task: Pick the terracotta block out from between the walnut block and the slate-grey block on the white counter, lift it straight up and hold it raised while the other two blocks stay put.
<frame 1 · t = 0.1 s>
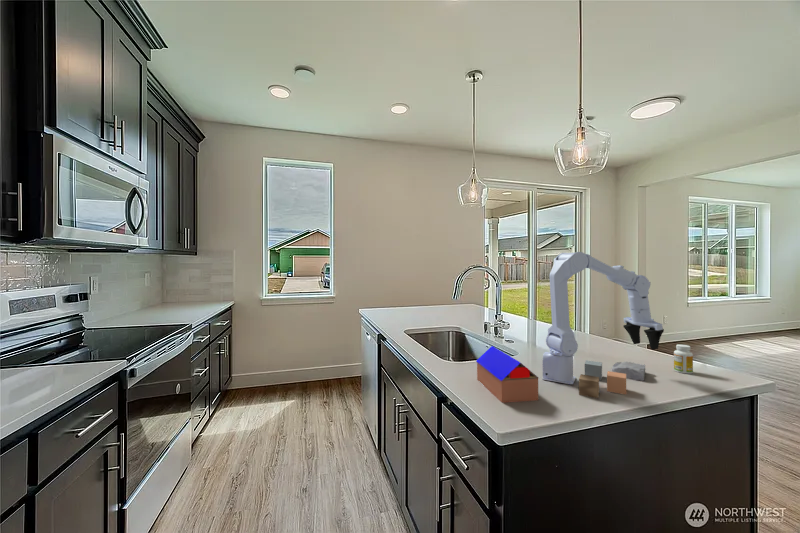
hand: (645, 346, 118), 11 cm above the table, tool pointing down, fingers open, 7 cm apart
terracotta block: (616, 390, 105), on the table
slate block: (593, 377, 117), on the table
stone block: (628, 375, 120), on the table
supplement bottle: (683, 372, 122), on the table
walnut block: (589, 394, 102), on the table
house: (505, 390, 107), on the table
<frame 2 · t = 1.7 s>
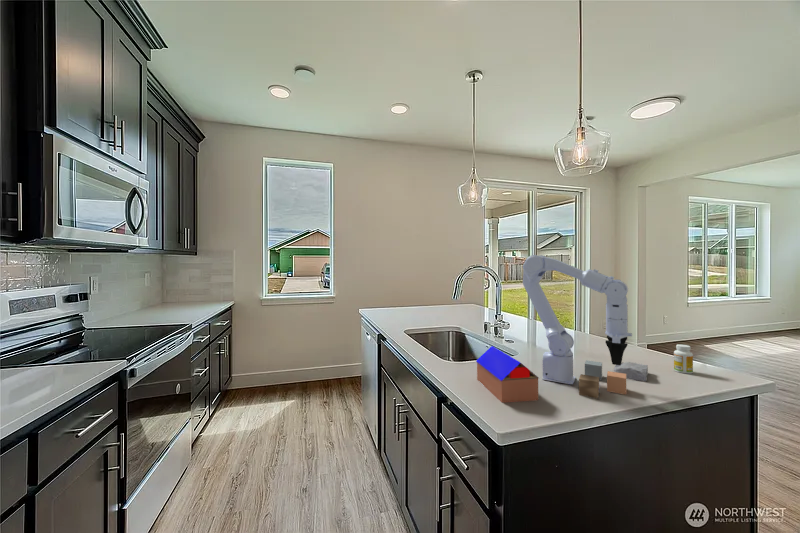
hand: (616, 361, 105), 9 cm above the table, tool pointing down, fingers open, 7 cm apart
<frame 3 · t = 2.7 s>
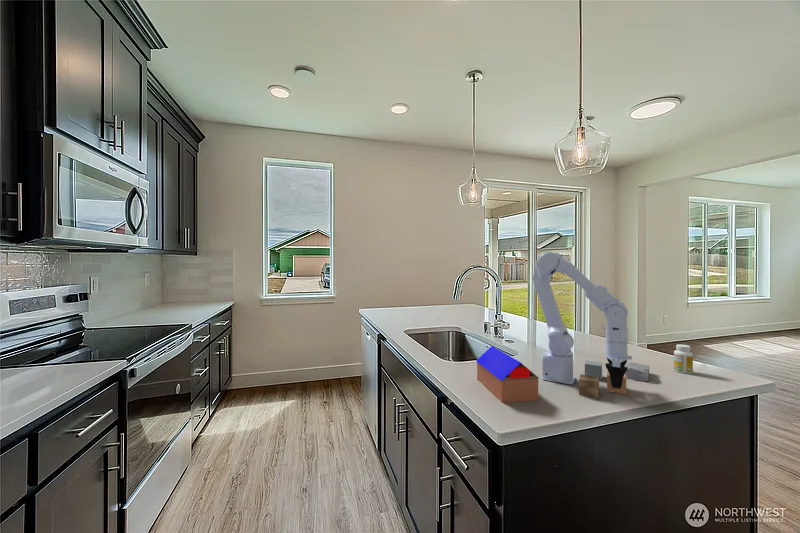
hand: (616, 384, 105), 2 cm above the table, tool pointing down, fingers open, 7 cm apart
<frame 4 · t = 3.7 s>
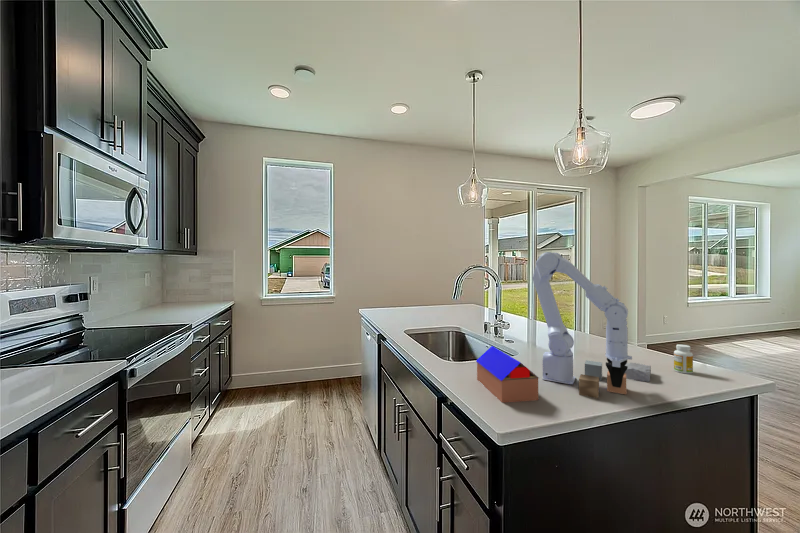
hand: (616, 384, 105), 2 cm above the table, tool pointing down, fingers closed on terracotta block, 5 cm apart
terracotta block: (616, 390, 105), on the table, touching gripper
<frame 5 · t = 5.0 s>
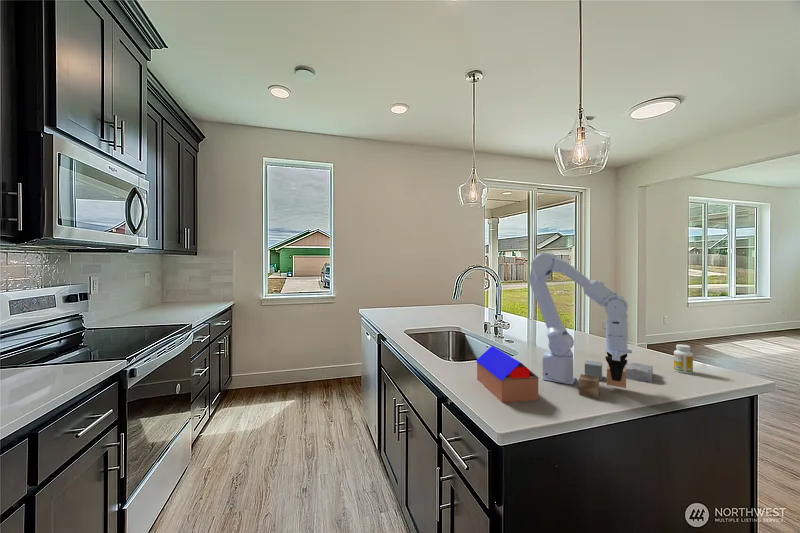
hand: (616, 377, 105), 4 cm above the table, tool pointing down, fingers closed on terracotta block, 5 cm apart
terracotta block: (616, 384, 105), point 2 cm above the table, touching gripper
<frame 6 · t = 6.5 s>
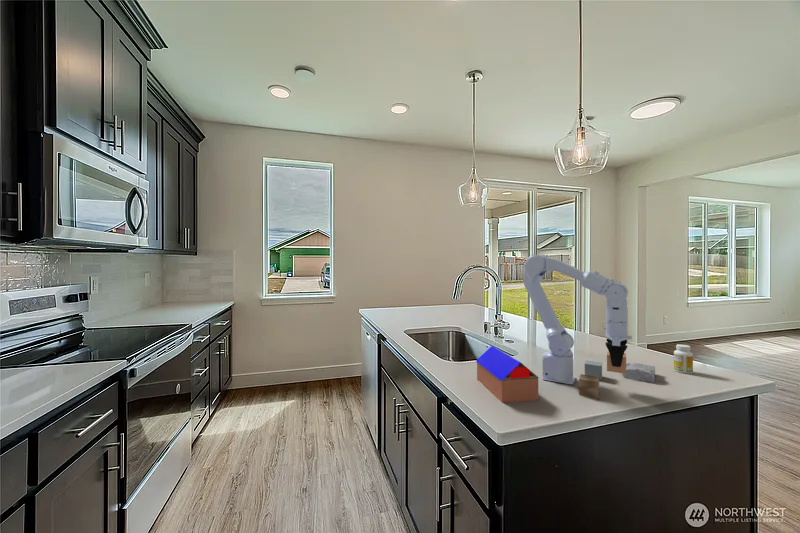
hand: (616, 364, 105), 8 cm above the table, tool pointing down, fingers closed on terracotta block, 5 cm apart
terracotta block: (616, 370, 105), point 6 cm above the table, touching gripper
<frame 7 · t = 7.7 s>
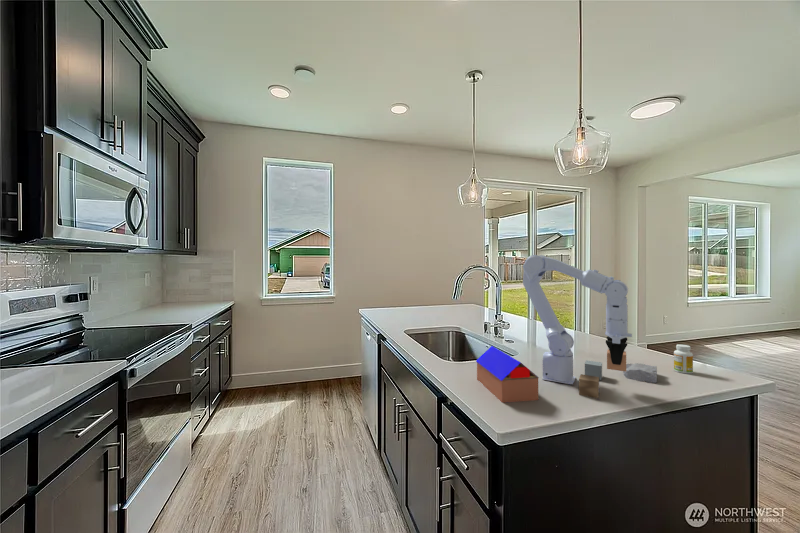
hand: (616, 361, 105), 9 cm above the table, tool pointing down, fingers closed on terracotta block, 5 cm apart
terracotta block: (616, 368, 105), point 7 cm above the table, touching gripper
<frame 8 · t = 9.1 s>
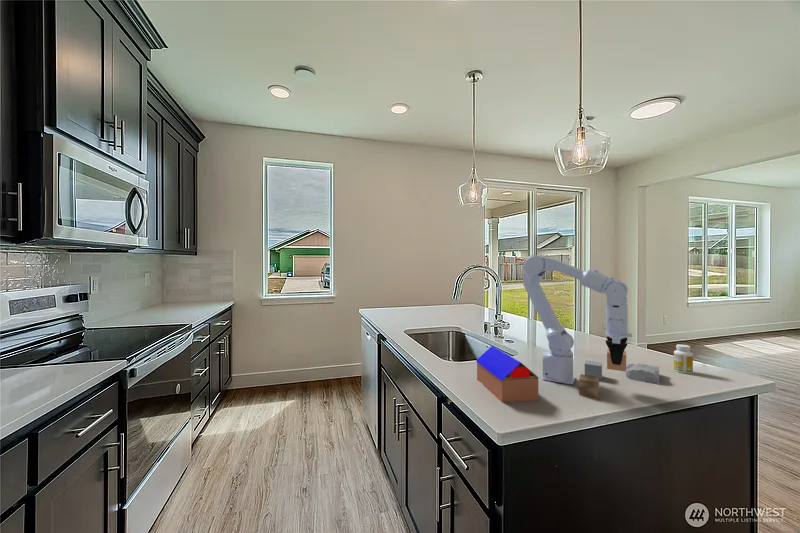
hand: (616, 361, 105), 9 cm above the table, tool pointing down, fingers closed on terracotta block, 5 cm apart
terracotta block: (616, 368, 105), point 7 cm above the table, touching gripper
at the end: terracotta block point 7.0 cm above the table; walnut block moved 0.1 cm from its start; slate block moved 0.1 cm from its start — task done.
